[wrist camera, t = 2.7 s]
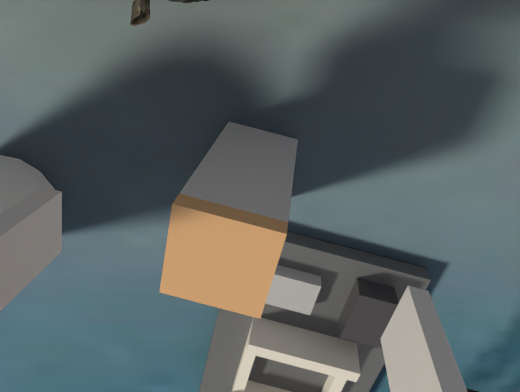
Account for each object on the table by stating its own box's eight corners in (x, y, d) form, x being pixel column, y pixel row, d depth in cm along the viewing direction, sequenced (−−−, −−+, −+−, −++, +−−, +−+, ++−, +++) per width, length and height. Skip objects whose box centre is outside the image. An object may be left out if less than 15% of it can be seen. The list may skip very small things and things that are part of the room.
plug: (228, 121, 22) (172, 203, 13) (297, 139, 22) (287, 233, 13) (216, 183, 24) (159, 292, 15) (280, 200, 24) (260, 319, 15)
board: (241, 219, 25) (230, 253, 22) (426, 268, 25) (443, 309, 22) (202, 381, 32) (189, 425, 29) (344, 419, 32) (347, 467, 29)
